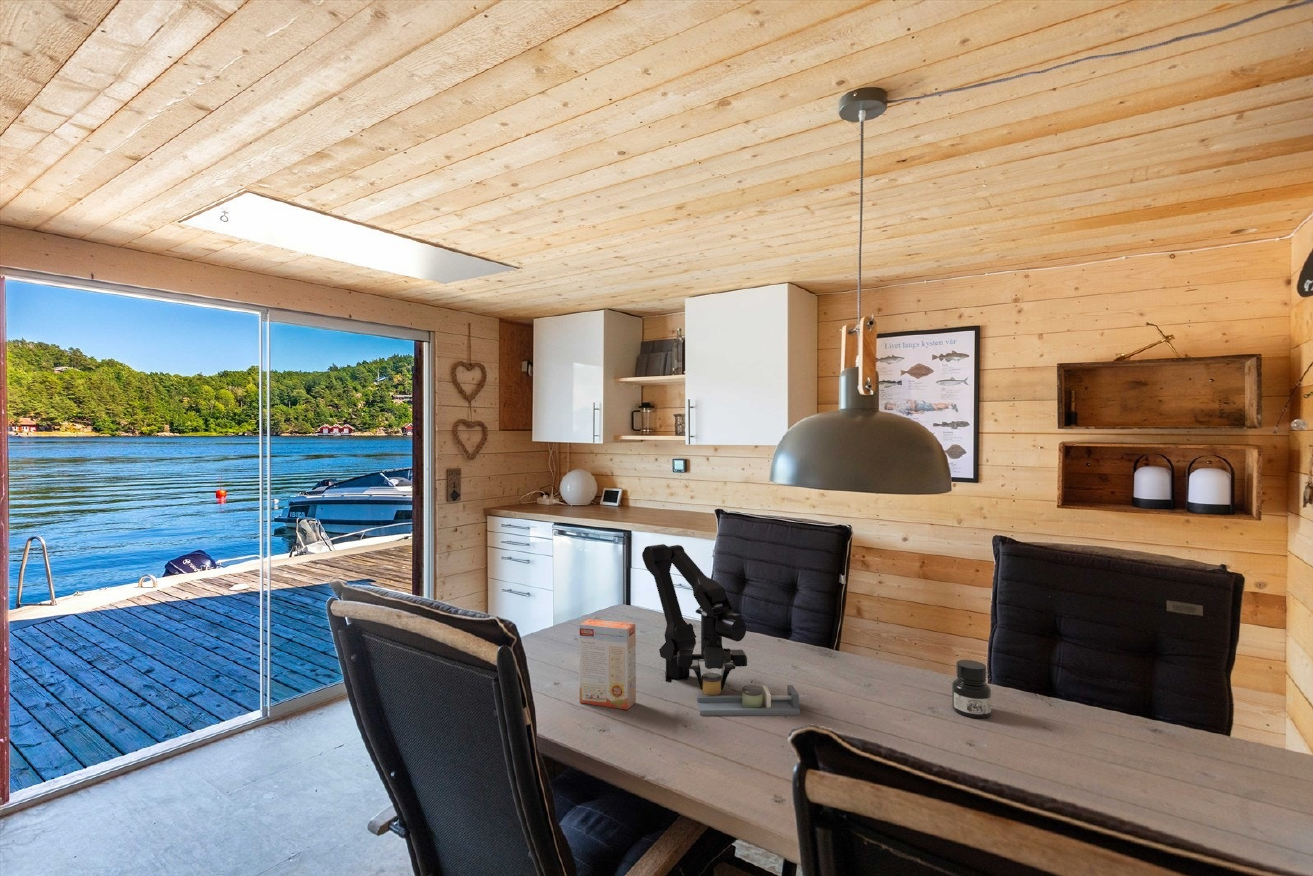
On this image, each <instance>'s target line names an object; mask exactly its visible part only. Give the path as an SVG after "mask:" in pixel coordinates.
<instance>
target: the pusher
mask: <svg viewBox="0 0 1313 876" xmlns="http://www.w3.org/2000/svg"><path fill="white" fill-rule="evenodd" d="M761 688H763V703H764V706H765V708H771V700H792V695H787V694H786V695H787V696H771V695H772V694H771V693H770V690H769V689H768V686H767V685H762V687H761ZM812 699H813V696H812V695H810V694H809V695H807V694H805V695H803V694H799V701H800V700H803V701H805V700H809V701H810V700H812Z"/></svg>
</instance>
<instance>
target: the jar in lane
mask: <svg viewBox="0 0 1313 876" xmlns="http://www.w3.org/2000/svg"><path fill="white" fill-rule="evenodd" d="M741 692H742V695H741V696H742V707H743V708H763V688H762V687H761V686H760V685H753V684H751V685H750V684H748V685H743V686H742V687H741Z"/></svg>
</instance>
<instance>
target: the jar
mask: <svg viewBox="0 0 1313 876" xmlns="http://www.w3.org/2000/svg"><path fill="white" fill-rule="evenodd" d="M701 678H702V690H701V692H702V693H703V694H704V695H706V696H718V695H720V694H721V693H722V690H721V679H722V677H721V674H719V673H716V672H705V673H703V674H701Z"/></svg>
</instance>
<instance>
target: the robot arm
mask: <svg viewBox="0 0 1313 876" xmlns="http://www.w3.org/2000/svg"><path fill="white" fill-rule="evenodd" d="M641 555H642V556H641V557H642V561H643V563H644V566H645V568H646V570H647V571H648V572H649V573H650V574H651V575H652V576H653V578H654V582H655V586H656V588H657V593H658V597H659V600H660V603H661V606H662V610H663V614H664V618H665V622H666V626H665V627H666V628H665V632H664V639H665V643H664V644H663V645H662V646H661V647H660V648H659V656H660V658H662V659H664V660H665V671H664V675H665V676H664V677H665V681H666V682H672V681H673V680H674V681H675V680H676V681H681V680H682V681H686V680H689V677H690V673H691V672H690V670H693V671H694V674H695V676H696V679H697V682H698V686H699V688H700V691H702V672H701V670H702V669H701V663H700V662H704V667H705V668H706V669H707V670H712V669H718V670H721V674H720V675H721V677H722V679H721V691H723V689H724V687H725V684H726V681H727V679H728V675H729V674H730V672H731V671H732V670H735V669H736V667H747V666H748V657H747V654H746V652H745V651H744V650H743V649H731V648H724V647H723V638H725V639H728V640H731V641H734V642H740V641H742V640H743V639H744V638H745V636H746V634H747V633H746V632H747V626H746V623H745V621H744V620H743V619H741V617H742V616H741V614H739V613H735V612H734V608H733V606H732V603H731V601H730V599H729V597H728V596H727V594H726V593H727V591H726V590H725V588H724V587H723V586H722V585H721V584H720V583H719V582H717V581H716V580H715V579H713V578H710V577H708V576H707V575H705V573H704V572H703V571H702V570H701V568H699V566H698V565H697V564H696V563H695V562H694V560H693V559H692V558H691V557H690V556H689V555H688V554H687V553H686V551H685V549H684V547H683V546H682V545H681V544H680V545H679V544H675V545H669V546H668V545H666V544H665V543H661V544H654V545H653V544H652V545H648V546H645V547H644V549H643V551H642V554H641ZM672 565H673V566H674V567H675V568H676V570H677V571H678V572H679V573H680V575H681V576H682V577H683V578H684V579H685V581H686V582H687V583H688V585H690V587H691V588H692V593H693V594H692V595H693V597H694V599H695V600H696V602H697V603H698V605H699V607H698V608H697V609H695V613H696V614H699V615H700V616H701V617H700V635H701V636H700V653H694V650H695V647H696V645H697V640H696V638H697V636H696V634H695V629H694V625H693V624H692V623H687V621H686V620H685V619H684V617H683V614H682V610H681V606H680V603H679V599H678V596H677V593H676V589H675V585H674V582H673V579H672V574H671V568H672Z"/></svg>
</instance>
